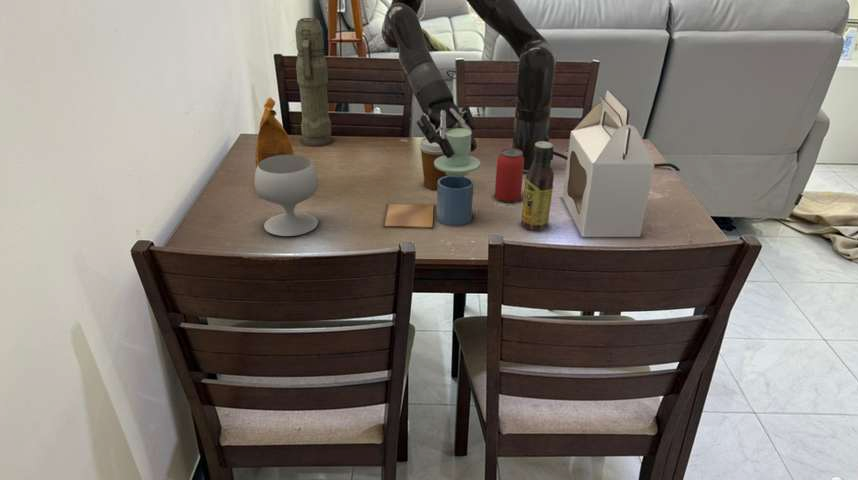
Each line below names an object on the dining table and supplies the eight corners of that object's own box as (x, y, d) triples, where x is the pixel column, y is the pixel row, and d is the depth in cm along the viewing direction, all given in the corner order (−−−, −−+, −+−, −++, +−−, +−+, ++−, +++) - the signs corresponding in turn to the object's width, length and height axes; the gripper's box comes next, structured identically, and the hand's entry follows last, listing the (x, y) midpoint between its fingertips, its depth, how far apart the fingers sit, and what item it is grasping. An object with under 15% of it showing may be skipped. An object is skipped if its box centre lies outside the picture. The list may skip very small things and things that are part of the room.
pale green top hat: (478, 165, 158) (480, 125, 153) (480, 182, 149) (482, 140, 144) (434, 164, 158) (434, 124, 153) (433, 181, 149) (434, 139, 144)
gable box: (561, 197, 169) (576, 85, 155) (613, 197, 170) (632, 86, 155) (582, 238, 150) (600, 114, 136) (640, 237, 151) (665, 114, 136)
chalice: (324, 236, 150) (319, 173, 142) (260, 242, 147) (252, 178, 140) (319, 210, 162) (314, 150, 154) (259, 215, 159) (252, 154, 151)
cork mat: (433, 206, 164) (433, 205, 164) (432, 228, 154) (432, 226, 154) (388, 205, 165) (388, 203, 164) (384, 227, 154) (384, 225, 154)
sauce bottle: (518, 220, 158) (525, 138, 148) (544, 219, 158) (553, 138, 148) (524, 232, 152) (532, 148, 142) (551, 232, 153) (561, 148, 143)
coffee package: (297, 177, 180) (289, 94, 168) (297, 195, 169) (289, 109, 158) (259, 179, 178) (249, 96, 167) (257, 198, 168) (246, 111, 156)
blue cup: (471, 210, 162) (472, 175, 158) (472, 225, 155) (473, 189, 151) (437, 209, 163) (438, 174, 158) (436, 224, 156) (437, 188, 151)
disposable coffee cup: (451, 193, 171) (453, 148, 165) (415, 190, 173) (415, 145, 166) (457, 179, 179) (459, 136, 173) (422, 176, 181) (423, 133, 175)
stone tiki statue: (300, 148, 199) (289, 23, 181) (304, 135, 209) (294, 15, 191) (330, 147, 200) (322, 23, 182) (333, 134, 210) (325, 15, 192)
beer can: (523, 194, 171) (527, 149, 165) (517, 204, 166) (521, 158, 160) (497, 190, 173) (501, 146, 167) (491, 200, 168) (494, 154, 161)
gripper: (446, 92, 158) (477, 154, 156) (397, 102, 151) (429, 168, 149) (462, 73, 152) (495, 138, 150) (411, 83, 144) (445, 151, 142)
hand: (462, 152), depth 149 cm, fingers closed on pale green top hat, 6 cm apart
